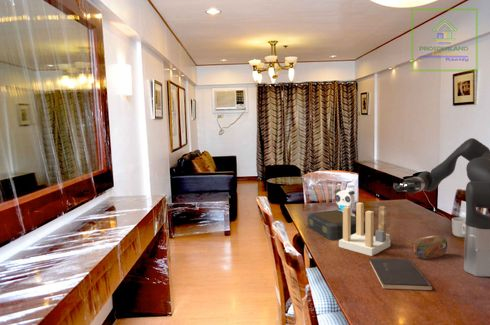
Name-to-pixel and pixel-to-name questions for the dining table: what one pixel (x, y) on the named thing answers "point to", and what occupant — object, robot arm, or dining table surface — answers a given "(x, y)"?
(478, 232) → the robot arm
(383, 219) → the leg
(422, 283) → the hardcover book
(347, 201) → the panda figurine
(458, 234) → the cup
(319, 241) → the dining table surface
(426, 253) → the tin
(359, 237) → the stool
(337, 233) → the cash box
